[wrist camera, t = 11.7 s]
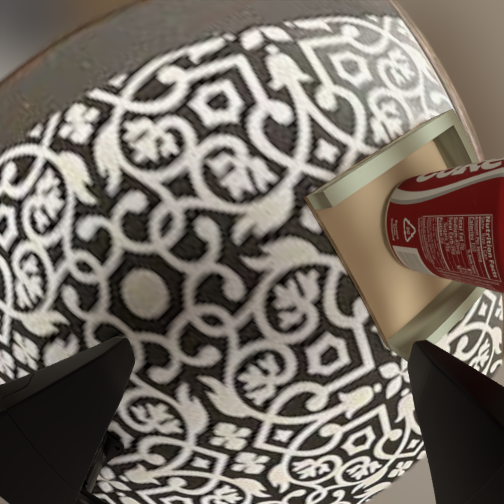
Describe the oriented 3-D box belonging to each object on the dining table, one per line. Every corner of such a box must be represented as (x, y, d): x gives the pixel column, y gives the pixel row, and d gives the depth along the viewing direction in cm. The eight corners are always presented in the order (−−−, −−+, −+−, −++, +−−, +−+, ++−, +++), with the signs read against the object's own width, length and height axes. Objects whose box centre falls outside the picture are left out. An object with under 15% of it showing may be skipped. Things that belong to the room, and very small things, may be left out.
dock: (386, 346, 20) (412, 365, 16) (303, 197, 19) (322, 191, 15) (481, 253, 21) (510, 256, 17) (424, 121, 19) (452, 108, 15)
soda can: (414, 288, 19) (545, 334, 7) (361, 221, 18) (514, 221, 6) (458, 226, 19) (580, 231, 7) (413, 159, 18) (545, 122, 6)
